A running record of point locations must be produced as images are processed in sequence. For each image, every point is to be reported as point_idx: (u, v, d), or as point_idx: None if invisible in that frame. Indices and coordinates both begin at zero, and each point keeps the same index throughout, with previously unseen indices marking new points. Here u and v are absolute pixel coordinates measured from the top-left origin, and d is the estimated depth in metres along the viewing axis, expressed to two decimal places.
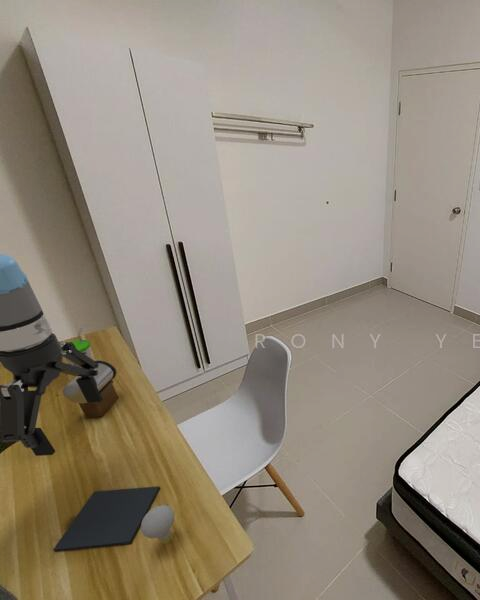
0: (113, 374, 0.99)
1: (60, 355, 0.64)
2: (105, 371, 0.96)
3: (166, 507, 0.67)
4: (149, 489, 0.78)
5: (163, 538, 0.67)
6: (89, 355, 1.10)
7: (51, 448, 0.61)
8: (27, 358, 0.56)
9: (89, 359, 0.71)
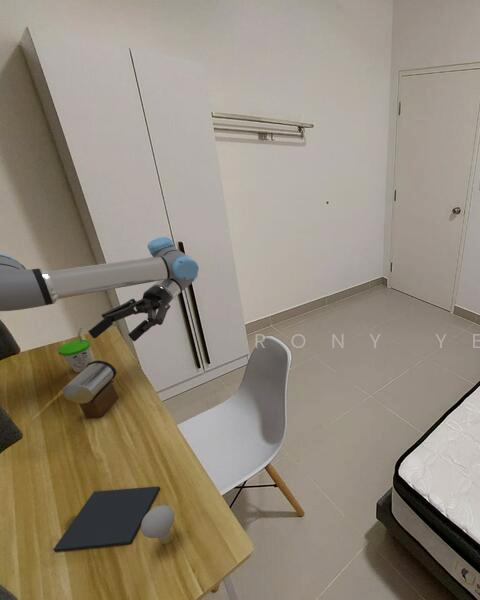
0: (113, 374, 0.99)
1: None
2: (105, 371, 0.96)
3: (166, 507, 0.67)
4: (149, 489, 0.78)
5: (163, 538, 0.67)
6: (89, 355, 1.10)
7: None
8: (169, 301, 1.13)
9: None
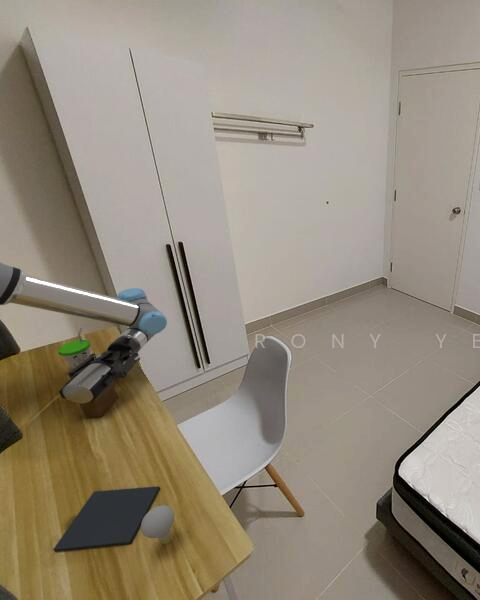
0: None
1: None
2: (105, 371, 0.96)
3: (166, 507, 0.67)
4: (149, 489, 0.78)
5: (163, 538, 0.67)
6: (89, 355, 1.10)
7: None
8: (137, 352, 1.10)
9: None
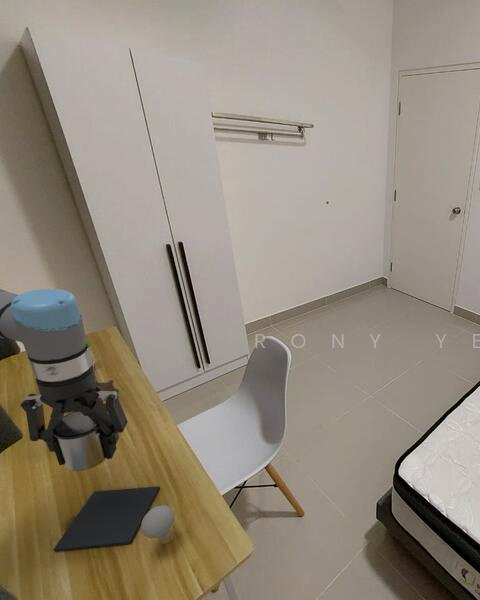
0: None
1: (91, 397, 0.63)
2: None
3: (166, 507, 0.67)
4: (149, 489, 0.78)
5: (163, 538, 0.67)
6: None
7: (60, 460, 0.66)
8: None
9: (117, 421, 0.67)
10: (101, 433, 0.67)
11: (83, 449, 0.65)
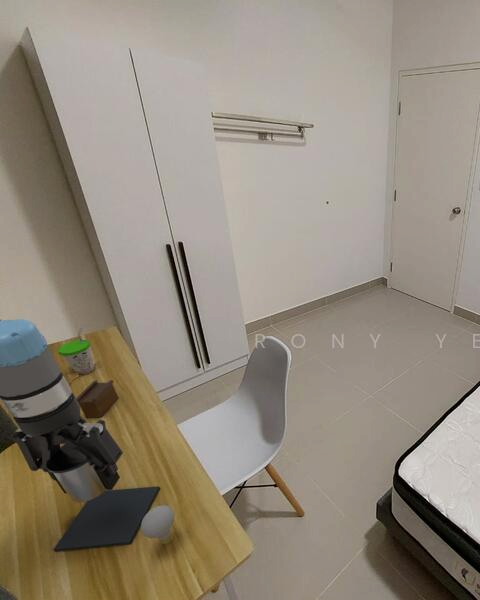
0: None
1: (74, 430, 0.59)
2: None
3: (166, 507, 0.67)
4: (149, 489, 0.78)
5: (163, 538, 0.67)
6: (89, 355, 1.10)
7: (64, 489, 0.65)
8: None
9: (106, 454, 0.62)
10: (95, 465, 0.64)
11: (76, 482, 0.62)
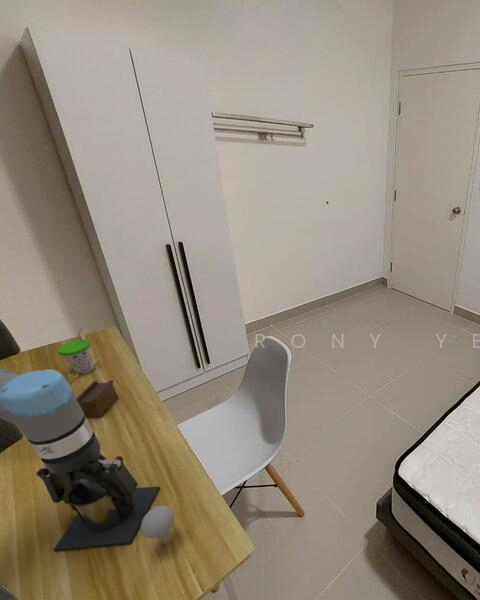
0: None
1: (95, 467, 0.64)
2: None
3: (166, 507, 0.67)
4: (149, 489, 0.78)
5: (163, 538, 0.67)
6: (89, 355, 1.10)
7: None
8: None
9: (123, 487, 0.67)
10: (113, 496, 0.68)
11: (96, 513, 0.67)
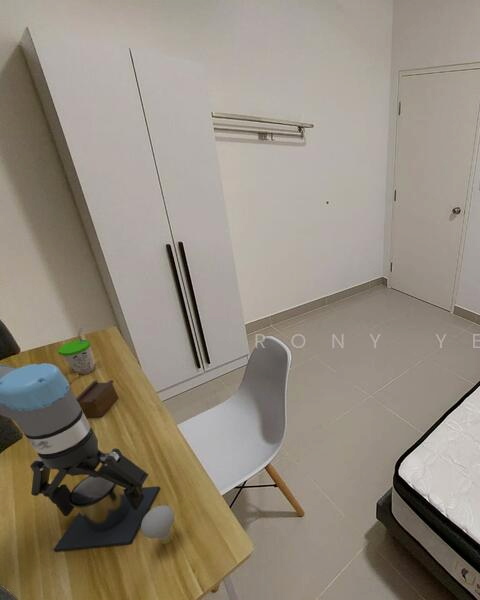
0: None
1: (92, 463, 0.63)
2: None
3: (166, 507, 0.67)
4: (149, 489, 0.78)
5: (163, 538, 0.67)
6: (89, 355, 1.10)
7: (64, 512, 0.68)
8: None
9: (130, 478, 0.66)
10: (113, 498, 0.68)
11: (97, 514, 0.67)
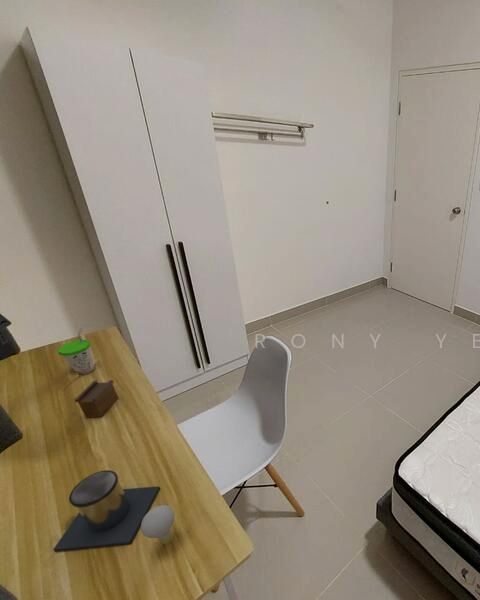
0: None
1: None
2: None
3: (166, 507, 0.67)
4: (149, 489, 0.78)
5: (163, 538, 0.67)
6: (89, 355, 1.10)
7: None
8: None
9: None
10: (113, 498, 0.68)
11: (97, 514, 0.67)
